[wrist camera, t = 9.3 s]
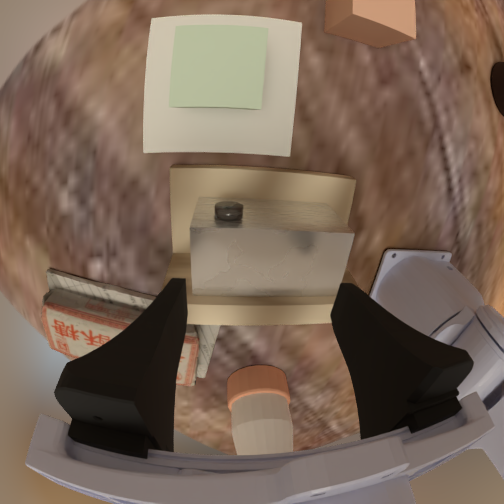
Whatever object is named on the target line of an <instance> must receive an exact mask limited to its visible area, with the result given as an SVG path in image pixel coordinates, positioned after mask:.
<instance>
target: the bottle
mask: <svg viewBox="0 0 504 504" xmlns="http://www.w3.org/2000/svg"><path fill="white" fill-rule="evenodd" d="M491 79H492V90H493V95H494V98H495V101H496V104H497V106H498V108H499V110H500V112H501V113H502V114H503V115H504V62H498V63H497V64H495V66H494V68H493V70H492V77H491Z"/></svg>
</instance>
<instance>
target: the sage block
mask: <svg viewBox="0 0 504 504" xmlns="http://www.w3.org/2000/svg"><path fill="white" fill-rule="evenodd" d="M267 39H268V28H263V27H253V26H239V25H181V26H176V28H175V36H174V45H173V54H172V65H171V77H170V92H169V107H174V108H227V109H246V110H261V106H262V95H263V84H264V72H265V61H266V50H267Z"/></svg>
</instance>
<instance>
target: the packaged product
mask: <svg viewBox="0 0 504 504" xmlns="http://www.w3.org/2000/svg"><path fill="white" fill-rule="evenodd" d="M46 273H47V279H48V286H49V290H50V291H49V292H48V293H46V294H45V295H44V296H43V301H42V302H43V306H42V313H41V314H42V316H41V321H42V323H43V325H44V329H45V334H46V338H47V340H48V343H49V346H50V348H51V349H54V350H56V351H58V352H61V353H63V354H65V355H68V356H71V357H74V358H79V357H81V356H83V355H86V354H88V353H89V352H91V351H93V350H95V349H97V348H98V347H100V346H102V345H103V344H105V343H106V342H108V341H109V340H111V339H112V338H114V337H115V336H116V335H118V334H119V333H120V332H122V331H123V330H124V329H125V328H127V327H128V326H129V325H130V324H131V323H132V322H133V321H134V320H136V319H137V318H138V317H139V316H140V315H141V313H142V312H143V311H144V310H145V309H146V308H147V307H148V306H149V305H150V304H151V303H152V302H153V300H154V299H155V298H156V297H155V296H151V295H147V294H143V293H139V292H135V291H131V290H128V289H125V288H121V287H118V286H114V285H110V284H106V283H100V282H95V281H91V280H88V279H84V278H80V277H76V276H73V275H70V274H66V273H63V272H60V271H56V270H52V269H47V271H46ZM219 328H220V325H199V324H187V327H186V334H185V339H184V344H183V348H182V353H181V358H180V362H179V367H178V372H177V379H176V384H177V385H183V386H193V385H195V384H196V377H200V378H205V375H206V372H207V369H208V365H209V362H210V359H211V355H212V352H213V349H214V346H215V342H216V338H217V335H218V331H219Z"/></svg>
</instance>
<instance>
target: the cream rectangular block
mask: <svg viewBox="0 0 504 504" xmlns="http://www.w3.org/2000/svg"><path fill="white" fill-rule="evenodd" d="M354 235H355V233H354V232H353V231H352V230H351V229H350V228H349V227H348V226H347V225H346V223H345V222H344V221H343V220H342V219H341V218H340V217H339V216H338V215H337V214H336V213H335V211H334V210H333V209H332V208H331V207H330V206H329V205H328V204H327V203H315V202H301V201H287V200H270V199H250V198H223V197H199V199H198V202H197V205H196V208H195V211H194V214H193V218H192V221H191V224H190V254H191V275H192V292H193V296H224V297H317V296H337V292H338V289H339V286H340V283H341V282H342V279H343V276H344V272H345V269H346V265H347V261H348V258H349V254H350V250H351V247H352V243H353V239H354Z"/></svg>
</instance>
